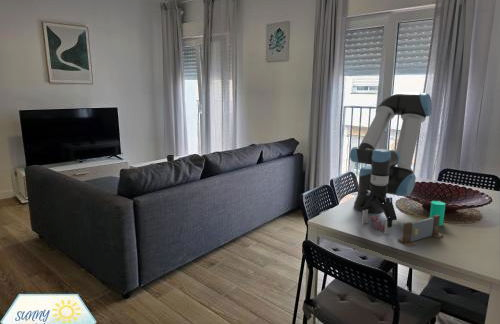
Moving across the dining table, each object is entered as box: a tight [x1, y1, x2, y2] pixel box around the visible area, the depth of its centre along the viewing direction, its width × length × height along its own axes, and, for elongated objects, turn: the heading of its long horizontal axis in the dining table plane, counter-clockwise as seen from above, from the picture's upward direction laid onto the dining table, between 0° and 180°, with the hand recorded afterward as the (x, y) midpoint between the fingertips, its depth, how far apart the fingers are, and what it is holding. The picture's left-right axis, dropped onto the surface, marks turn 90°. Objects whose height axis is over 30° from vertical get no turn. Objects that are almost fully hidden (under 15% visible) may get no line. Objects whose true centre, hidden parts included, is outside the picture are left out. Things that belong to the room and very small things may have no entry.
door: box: [410, 217, 435, 242], centre depth 143 cm, size 2×14×8 cm, turn 116°
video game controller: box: [369, 215, 385, 233], centre depth 155 cm, size 10×5×7 cm, turn 178°
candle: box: [429, 200, 447, 227], centre depth 159 cm, size 6×6×12 cm
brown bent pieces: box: [397, 215, 444, 248], centre depth 143 cm, size 6×21×9 cm, turn 116°
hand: (375, 227), depth 155 cm, fingers open, 13 cm apart
